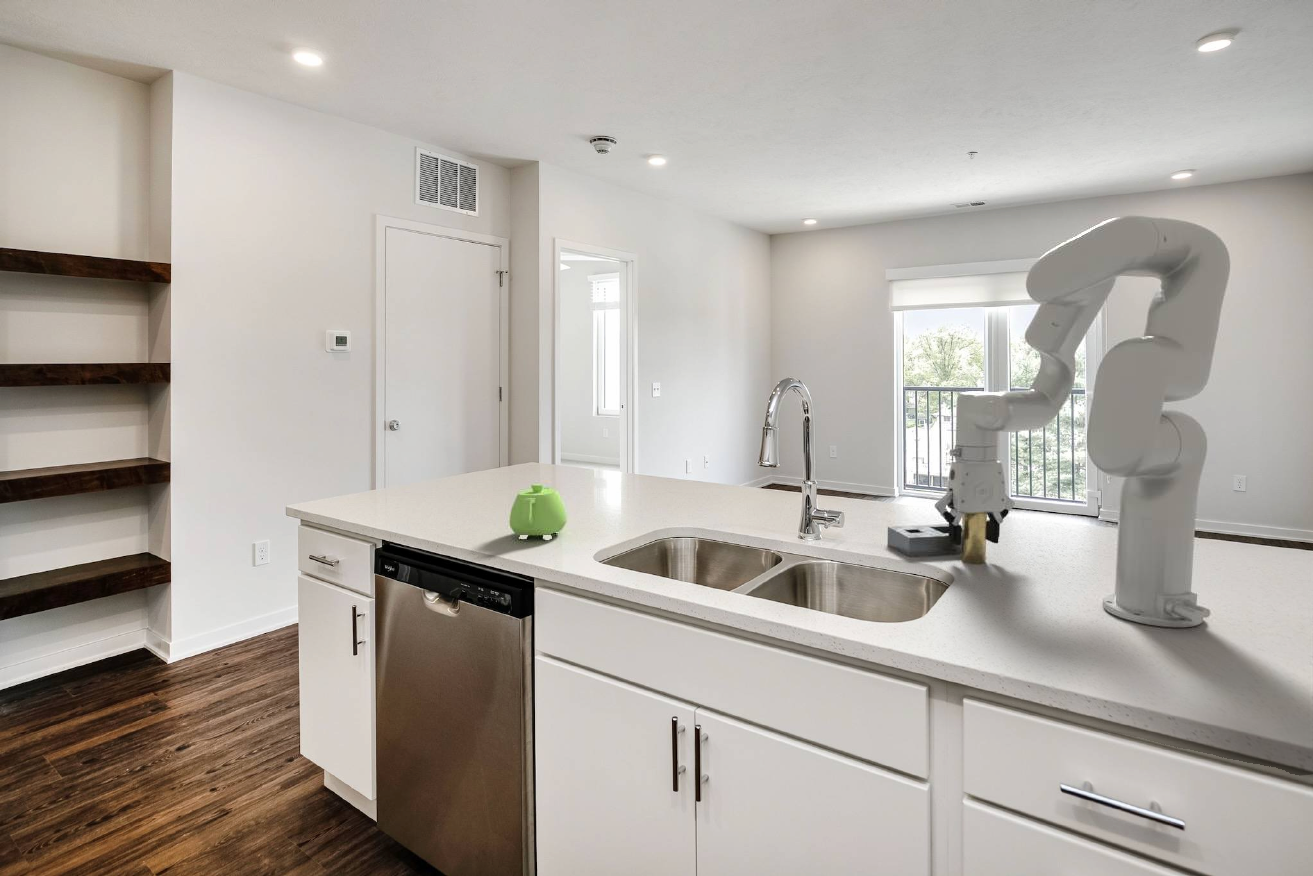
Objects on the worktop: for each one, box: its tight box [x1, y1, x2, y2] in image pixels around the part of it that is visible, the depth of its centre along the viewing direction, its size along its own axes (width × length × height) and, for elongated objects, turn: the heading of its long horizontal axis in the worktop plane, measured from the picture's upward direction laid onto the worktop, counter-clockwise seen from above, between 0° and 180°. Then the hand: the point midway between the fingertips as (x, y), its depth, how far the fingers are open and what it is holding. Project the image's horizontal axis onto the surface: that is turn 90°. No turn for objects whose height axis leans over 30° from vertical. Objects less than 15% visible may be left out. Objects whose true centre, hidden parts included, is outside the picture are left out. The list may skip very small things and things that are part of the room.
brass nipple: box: [960, 513, 988, 565], centre depth 136 cm, size 4×4×12 cm
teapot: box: [509, 483, 568, 536], centre depth 165 cm, size 20×13×13 cm
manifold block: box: [887, 523, 962, 558], centre depth 146 cm, size 10×16×4 cm, turn 96°
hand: (973, 542), depth 136 cm, fingers open, 7 cm apart
